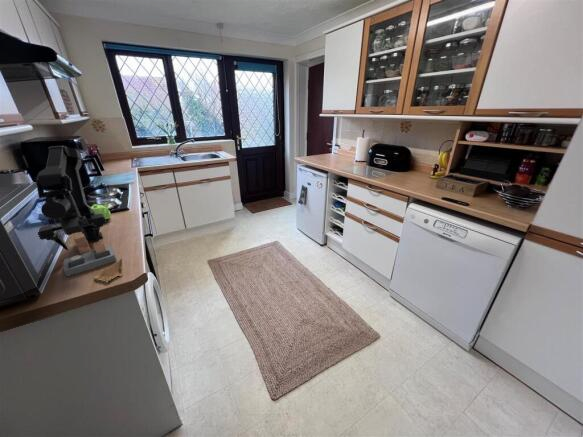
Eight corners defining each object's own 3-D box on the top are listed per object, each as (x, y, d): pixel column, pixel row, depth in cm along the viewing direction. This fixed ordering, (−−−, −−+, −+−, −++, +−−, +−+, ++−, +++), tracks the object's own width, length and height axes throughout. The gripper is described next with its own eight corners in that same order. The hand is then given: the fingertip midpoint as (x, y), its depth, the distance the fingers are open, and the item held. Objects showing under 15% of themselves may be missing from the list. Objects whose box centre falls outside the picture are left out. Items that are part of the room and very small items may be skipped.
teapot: (116, 220, 120) (110, 204, 117) (87, 227, 113) (80, 211, 110) (112, 213, 128) (106, 199, 124) (85, 220, 121) (78, 205, 117)
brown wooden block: (81, 254, 93) (73, 236, 89) (91, 251, 94) (83, 233, 91) (82, 257, 91) (73, 239, 87) (92, 254, 92) (84, 236, 89)
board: (67, 265, 86) (60, 252, 84) (113, 250, 95) (108, 238, 92) (67, 277, 80) (60, 263, 78) (116, 260, 88) (111, 248, 86)
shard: (122, 261, 89) (121, 257, 88) (139, 265, 87) (137, 261, 86) (93, 280, 79) (91, 276, 78) (111, 284, 77) (109, 280, 76)
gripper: (26, 223, 73) (49, 264, 80) (100, 207, 84) (115, 244, 91) (29, 212, 81) (50, 251, 87) (97, 199, 92) (111, 234, 99)
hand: (83, 245), depth 91 cm, fingers open, 9 cm apart
